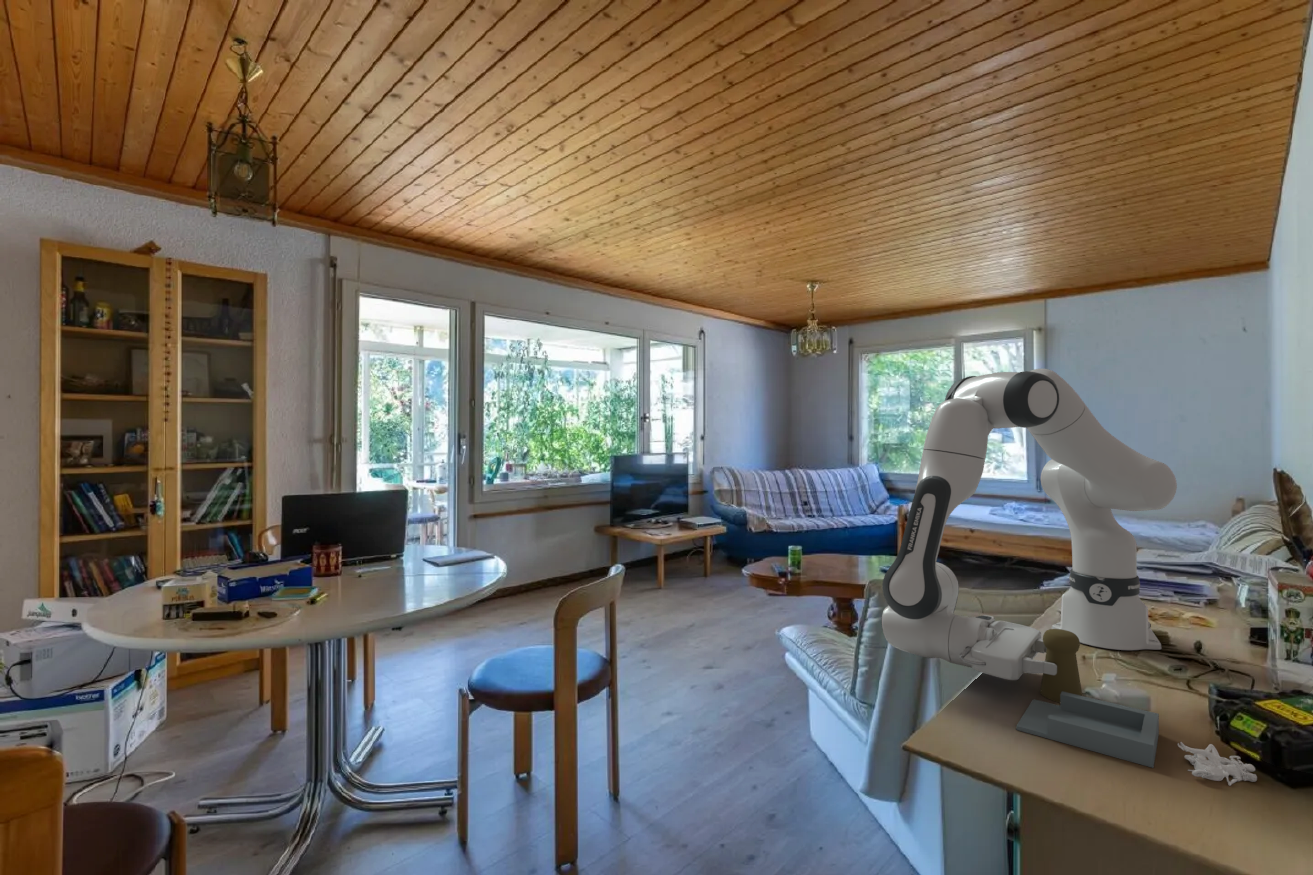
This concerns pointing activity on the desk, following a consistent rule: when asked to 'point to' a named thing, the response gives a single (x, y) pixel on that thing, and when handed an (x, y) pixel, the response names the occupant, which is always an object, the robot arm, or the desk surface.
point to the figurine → (1218, 765)
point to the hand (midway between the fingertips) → (1062, 660)
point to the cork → (1061, 664)
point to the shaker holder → (1095, 727)
